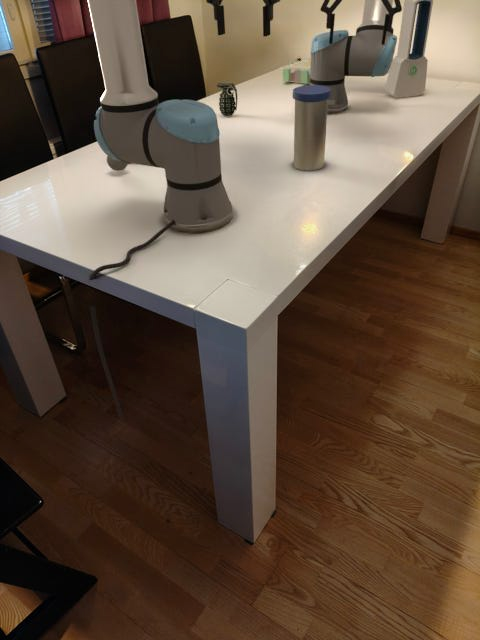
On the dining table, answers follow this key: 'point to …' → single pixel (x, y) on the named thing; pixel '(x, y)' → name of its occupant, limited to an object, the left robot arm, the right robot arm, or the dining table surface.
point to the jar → (310, 134)
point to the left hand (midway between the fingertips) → (243, 35)
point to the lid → (311, 93)
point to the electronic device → (407, 67)
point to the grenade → (227, 99)
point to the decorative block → (297, 72)
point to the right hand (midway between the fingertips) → (356, 43)
